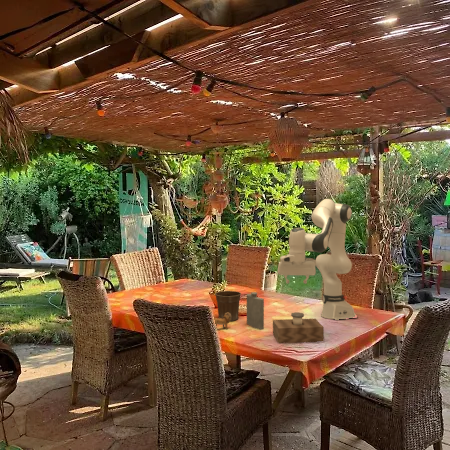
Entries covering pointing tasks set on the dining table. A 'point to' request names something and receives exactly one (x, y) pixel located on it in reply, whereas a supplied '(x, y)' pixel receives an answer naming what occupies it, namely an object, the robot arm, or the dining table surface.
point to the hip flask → (255, 311)
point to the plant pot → (228, 303)
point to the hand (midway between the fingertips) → (296, 283)
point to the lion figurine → (223, 320)
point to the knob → (297, 318)
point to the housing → (298, 331)
